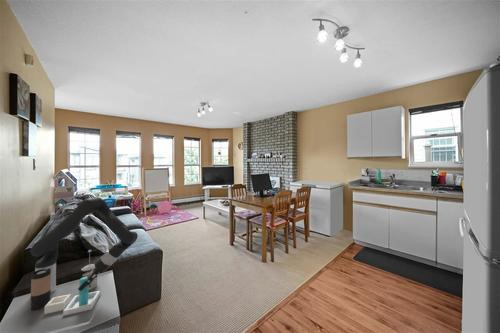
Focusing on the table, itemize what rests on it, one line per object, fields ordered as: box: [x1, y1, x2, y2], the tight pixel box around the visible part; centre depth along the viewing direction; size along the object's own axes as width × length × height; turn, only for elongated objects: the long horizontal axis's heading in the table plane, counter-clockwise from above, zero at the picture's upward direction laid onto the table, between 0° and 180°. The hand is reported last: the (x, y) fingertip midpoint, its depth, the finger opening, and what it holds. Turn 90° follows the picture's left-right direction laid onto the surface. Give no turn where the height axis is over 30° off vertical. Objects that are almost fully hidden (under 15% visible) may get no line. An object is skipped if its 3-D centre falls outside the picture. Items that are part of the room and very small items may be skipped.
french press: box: [80, 249, 98, 291], centre depth 126 cm, size 10×12×25 cm
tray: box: [62, 290, 101, 317], centre depth 109 cm, size 12×14×4 cm
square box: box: [44, 293, 72, 315], centre depth 107 cm, size 8×8×5 cm
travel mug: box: [30, 268, 51, 311], centre depth 109 cm, size 8×8×20 cm
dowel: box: [78, 276, 89, 306], centre depth 110 cm, size 4×4×14 cm
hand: (81, 285), depth 109 cm, fingers open, 8 cm apart
